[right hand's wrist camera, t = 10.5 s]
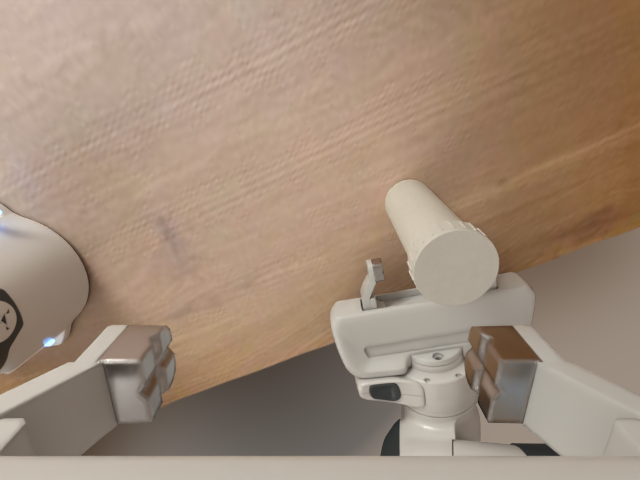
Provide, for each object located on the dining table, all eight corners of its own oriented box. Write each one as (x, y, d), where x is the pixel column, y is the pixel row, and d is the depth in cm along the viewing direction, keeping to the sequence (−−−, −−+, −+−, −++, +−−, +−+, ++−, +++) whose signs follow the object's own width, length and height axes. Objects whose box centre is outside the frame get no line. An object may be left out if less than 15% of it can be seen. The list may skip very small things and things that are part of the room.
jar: (441, 202, 41) (505, 267, 26) (405, 233, 42) (447, 310, 28) (411, 169, 39) (461, 218, 25) (375, 201, 41) (403, 266, 26)
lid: (504, 257, 28) (517, 270, 26) (439, 306, 29) (447, 321, 27) (455, 202, 26) (465, 211, 24) (390, 256, 28) (395, 268, 26)
